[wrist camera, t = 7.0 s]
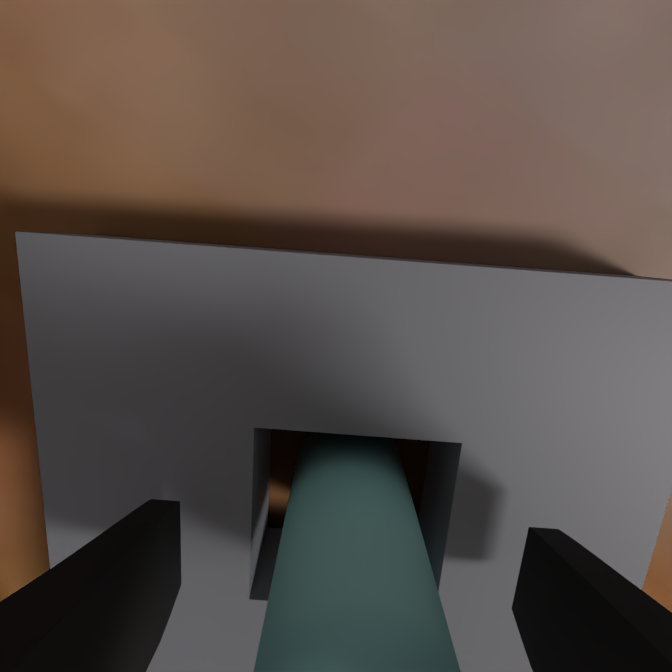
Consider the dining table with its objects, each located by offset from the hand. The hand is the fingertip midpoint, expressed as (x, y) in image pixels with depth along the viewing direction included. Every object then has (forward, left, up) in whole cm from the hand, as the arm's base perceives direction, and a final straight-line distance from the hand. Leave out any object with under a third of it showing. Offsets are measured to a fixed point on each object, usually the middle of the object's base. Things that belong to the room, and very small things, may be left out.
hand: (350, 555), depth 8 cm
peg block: (0, 0, -3) cm, 3 cm away
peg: (0, 0, -3) cm, 3 cm away
